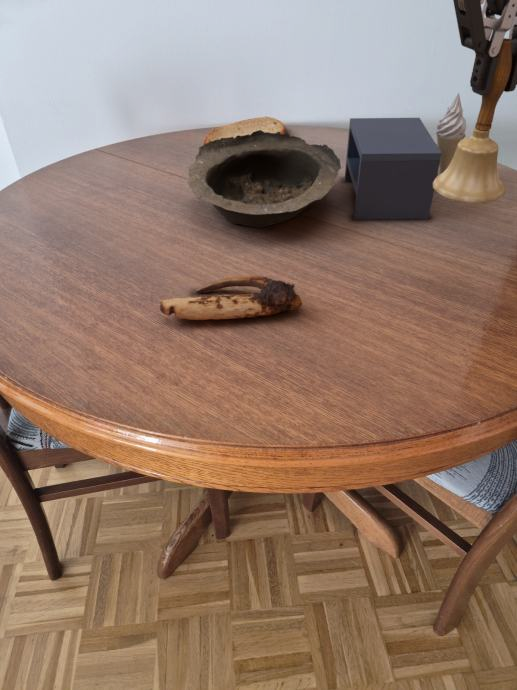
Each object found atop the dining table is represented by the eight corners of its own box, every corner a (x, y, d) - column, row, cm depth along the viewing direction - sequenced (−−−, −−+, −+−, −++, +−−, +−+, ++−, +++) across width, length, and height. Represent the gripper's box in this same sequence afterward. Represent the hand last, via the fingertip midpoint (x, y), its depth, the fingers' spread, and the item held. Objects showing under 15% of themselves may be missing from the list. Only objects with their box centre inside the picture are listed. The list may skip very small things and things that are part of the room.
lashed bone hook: (293, 285, 76) (163, 292, 74) (294, 256, 73) (159, 262, 71) (304, 325, 68) (161, 334, 67) (307, 294, 66) (156, 302, 64)
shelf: (409, 178, 101) (419, 117, 94) (428, 219, 89) (441, 153, 82) (344, 178, 101) (349, 118, 94) (354, 219, 89) (361, 153, 82)
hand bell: (460, 168, 70) (491, 27, 59) (518, 189, 65) (564, 39, 54) (418, 187, 66) (443, 40, 56) (476, 211, 61) (517, 54, 50)
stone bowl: (291, 166, 105) (295, 118, 99) (362, 232, 89) (372, 179, 83) (169, 190, 97) (164, 139, 91) (222, 266, 81) (221, 212, 75)
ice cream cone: (422, 175, 102) (437, 90, 92) (444, 170, 103) (462, 86, 94) (437, 185, 98) (456, 98, 89) (461, 181, 100) (481, 94, 90)
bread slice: (283, 126, 123) (283, 108, 121) (292, 156, 110) (292, 138, 107) (204, 129, 123) (203, 112, 120) (203, 160, 109) (201, 141, 106)
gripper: (505, -119, 43) (457, 110, 54) (643, -124, 46) (571, 93, 57) (450, -119, 48) (416, 89, 59) (577, -123, 51) (522, 75, 63)
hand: (492, 90), depth 58 cm, fingers closed on hand bell, 2 cm apart
